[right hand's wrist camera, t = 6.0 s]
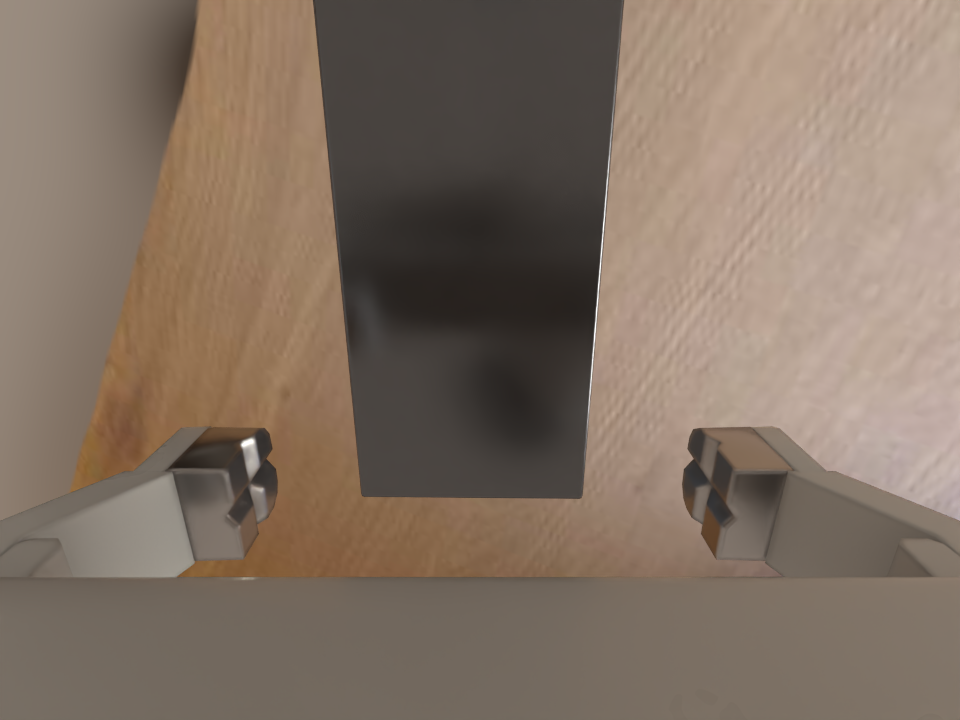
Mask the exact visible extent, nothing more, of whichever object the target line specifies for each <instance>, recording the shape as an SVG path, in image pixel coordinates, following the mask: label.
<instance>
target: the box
mask: <svg viewBox="0 0 960 720" xmlns="http://www.w3.org/2000/svg"><path fill="white" fill-rule="evenodd" d="M313 5H314V15H315V26H316V36H317V46H318V56H319V66H320V77H321V87H322V97H323V107H324V117H325V128H326V138H327V148H328V158H329V169H330V179H331V189H332V199H333V209H334V220H335V230H336V240H337V250H338V260H339V271H340V281H341V291H342V301H343V311H344V322H345V332H346V342H347V352H348V362H349V373H350V383H351V393H352V403H353V414H354V424H355V434H356V444H357V454H358V465H359V475H360V485H361V494H362V496H364V497H458V498H564V499H580V498H582V495H583V483H584V472H585V460H586V448H587V436H588V424H589V412H590V400H591V388H592V376H593V364H594V353H595V341H596V329H597V317H598V305H599V293H600V281H601V269H602V257H603V245H604V234H605V222H606V210H607V198H608V186H609V174H610V162H611V150H612V138H613V126H614V114H615V103H616V91H617V79H618V67H619V55H620V43H621V31H622V19H623V7H624V0H313Z"/></svg>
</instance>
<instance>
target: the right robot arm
mask: <svg viewBox="0 0 960 720" xmlns="http://www.w3.org/2000/svg"><path fill="white" fill-rule="evenodd" d="M271 451H272V444H271V439H270V434H269V433H268V431H267V430H266V429H265V428H235V427H210V426H209V427H185V428H181V429H180V430H179V431H177V432H176V433H175V434H174V435H173V436H172V437H171V438H170V439H169V440H167V441H166V442H165V443H164V444H163V445H162V446H161V447H160V448H159V449H157V450H156V451H155V452H154V453H153V454H152V455H151V456H150V457H149V458H147V459H146V460H145V461H144V462H143V463H142V464H141V465H140V466H139V467H137V468H136V469H135V470H134V471H124V472H122V473H119V474H117V475H114V476H112V477H109V478H107V479H104V480H102V481H99V482H97V483H94V484H92V485H89V486H86V487H84V488H81V489H79V490H76V491H74V492H71V493H69V494H66V495H64V496H61V497H59V498H56V499H54V500H51V501H49V502H46V503H44V504H41V505H39V506H36V507H34V508H31V509H29V510H26V511H24V512H21V513H19V514H16V515H14V516H11V517H9V518H6V519H3V520H1V521H0V720H960V521H959V520H956V519H954V518H951V517H949V516H946V515H944V514H941V513H939V512H936V511H934V510H931V509H929V508H926V507H924V506H921V505H919V504H916V503H914V502H911V501H909V500H906V499H904V498H901V497H898V496H896V495H893V494H891V493H888V492H886V491H883V490H881V489H878V488H876V487H873V486H871V485H868V484H866V483H863V482H861V481H858V480H856V479H853V478H851V477H848V476H846V475H843V474H841V473H838V472H836V471H826V470H825V469H824V468H823V467H821V466H820V465H819V464H818V463H817V462H816V461H815V460H814V459H813V458H812V457H810V456H809V455H808V454H807V453H806V452H805V451H804V450H803V449H802V448H800V447H799V446H798V445H797V444H796V443H795V442H794V441H793V440H792V439H791V438H789V437H788V436H787V435H786V434H785V433H784V432H783V431H782V430H781V429H779V428H776V427H773V426H770V427H727V428H698V429H693V431H692V433H691V435H690V438H689V443H688V451H689V452H690V454H691V455H692V457H693V458H694V459H693V460H692V461H691V462H690V463H689V464H688V466H687V467H686V468H685V469H684V474H683V482H682V488H683V499H684V502H685V505H686V508H687V510H688V512H689V514H690V515H691V517H692V518H693V519H695V520H696V521H698V522H700V523H701V524H703V526H702V532H701V534H702V536H703V538H704V539H705V541H706V543H707V545H708V546H709V548H710V550H711V551H712V553H713V555H714V556H715V558H716V560H753V561H765V563H766V564H767V565H769V566H770V567H771V568H773V569H774V570H775V571H777V572H778V573H779V574H781V575H782V576H783V577H177V576H178V575H179V574H181V573H182V572H183V571H185V570H186V569H188V568H189V567H190V566H192V565H193V564H194V563H195V561H207V560H243V559H244V558H245V556H246V555H247V553H248V551H249V550H250V548H251V546H252V545H253V543H254V541H255V539H256V538H257V536H258V534H259V532H258V526H257V524H259V523H260V522H262V521H264V520H265V519H267V518H268V517H269V515H270V514H271V512H272V510H273V508H274V505H275V501H276V497H277V488H278V480H277V473H276V469H275V468H274V467H273V466H272V464H271V463H270V462H269V461H268V460H267V459H266V458H267V457H268V455H269V454H270V452H271Z"/></svg>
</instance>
